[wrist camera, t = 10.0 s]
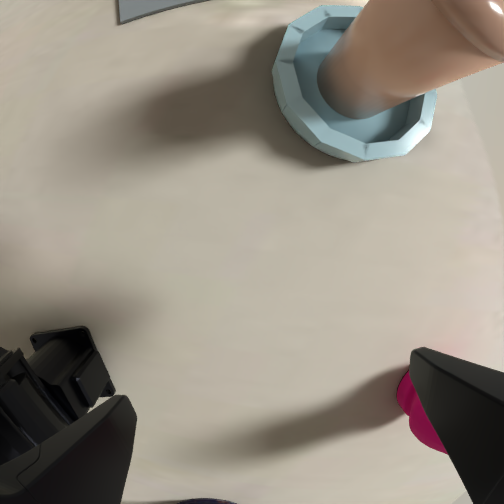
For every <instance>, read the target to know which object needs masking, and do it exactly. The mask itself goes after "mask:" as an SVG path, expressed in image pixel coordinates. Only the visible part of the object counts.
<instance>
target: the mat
mask: <svg viewBox="0 0 504 504" xmlns="http://www.w3.org/2000/svg"><path fill="white" fill-rule="evenodd" d="M203 1H208V0H119V11H120V22H121V24H124V23H127V22H130V21H133V20H135V19H139V18H142V17H145V16H148V15H151V14H155V13H158V12H162V11H165V10H169V9H173V8H177V7H181V6H185V5H189V4H193V3H198V2H203Z"/></svg>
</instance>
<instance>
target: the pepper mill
mask: <svg viewBox="0 0 504 504" xmlns="http://www.w3.org/2000/svg"><path fill="white" fill-rule="evenodd" d="M397 401H398V403H399V405H400V406H401V408H402V409H403V410H404V412H405V413H406V414H407V415H408V416H409V426H410V429H411V431H412V433H413V434H414V435H415V436H416V437H417V439H418V440H419V441H421V442H422V443H423V444H425V445H427V446H428V447H430V448H432V449H435V450H437V451H440V452H443V453H445V454H448V453H447V451H446V450H445V448H444V446H443V444H442V442H441V440H440V439H439V437H438V435H437V433H436V431H435V430H434V428H433V426H432V424H431V423H430V421H429V419H428V417H427V415H426V413H425V411H424V409H423V407H422V404H421V402H420V400H419V397H418V395H417V392H416V390H415V388H414V386H413V383H412V381H411V379H410V375H409V371H408V372H407V373H406V374H405V376H404V377H403V379H402V381H401V382H400V384H399V387H398V391H397Z"/></svg>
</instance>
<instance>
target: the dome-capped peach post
mask: <svg viewBox="0 0 504 504" xmlns="http://www.w3.org/2000/svg"><path fill="white" fill-rule="evenodd" d="M501 63H504V0H369V1H368V3H367V4H366V5H365V6H364V8H363V9H362V10H361V11H360V13H359V14H358V15H357V16H356V18H355V19H354V20H353V22H352V23H351V24H350V25H349V27H348V28H347V29H346V31H345V32H344V33H343V34H342V36H341V37H340V38H339V40H338V41H337V42H336V44H335V45H334V46H333V48H332V49H331V50H330V52H329V53H328V54H327V56H326V57H325V58H324V60H323V61H322V62H321V64H320V66H319V68H318V72H317V84H318V88H319V91H320V93H321V95H322V97H323V99H324V100H325V102H326V103H327V104H328V105H329V106H330V107H331V108H332V109H333V110H335V111H336V112H337V113H339V114H341V115H343V116H345V117H348V118H352V119H367V118H370V117H373V116H375V115H377V114H379V113H381V112H383V111H386V110H388V109H390V108H392V107H394V106H397V105H399V104H401V103H403V102H406V101H408V100H410V99H412V98H415V97H417V96H419V95H422V94H424V93H426V92H429V91H431V90H434V89H436V88H438V87H441V86H443V85H446V84H448V83H451V82H453V81H456V80H458V79H461V78H463V77H466V76H468V75H471V74H474V73H476V72H479V71H482V70H484V69H487V68H490V67H493V66H495V65H498V64H501Z"/></svg>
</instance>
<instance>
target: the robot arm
mask: <svg viewBox="0 0 504 504" xmlns="http://www.w3.org/2000/svg"><path fill="white" fill-rule="evenodd" d="M82 331H83V332H84V333H85V335H84V334H83V333H82ZM35 339H36V340H35ZM30 341H31V343H32V345H33V348H34V350H35V353H34V354H33V355H32V356H31V357H30V358H29V359H28V360H27V361H26V359H25V358H24V356H23V352H22V351H21V349H20V348H18V349H16V350H14V351H12V350H11V351H7V350H5V349H4V348H2V347H0V504H120V503H121V499H122V495H123V490H124V486H125V482H126V478H127V474H128V470H129V466H130V462H131V457H132V452H133V444H134V437H135V430H136V423H137V415H136V412H135V410H134V408H133V406H132V404H131V402H130V400H129V398H128V397H127V396H126V395H114V394H115V391H116V390H115V388H114V386H113V383H112V381H111V379H110V376H109V373H108V371H107V369H106V367H105V365H104V363H103V360H102V358H101V356H100V354H99V352H98V351H97V348H96V346H95V344H94V341H93V339H92V337H91V334H90V332H89V330H88V328H86V327H85V326H80V327H74V328H67V329H61V330H55V331H48V332H41V333H34V334H33V335H31V337H30ZM409 375H410V379H411V381H412V383H413V386H414V388H415V390H416V392H417V395H418V397H419V400H420V402H421V404H422V407H423V409H424V411H425V413H426V415H427V417H428V419H429V421H430V423H431V424H432V426H433V428H434V430H435V431H436V433H437V435H438V437H439V439H440V440H441V442H442V444H443V446H444V448H445V450H446V451H447V453H448V455H449V457H450V459H451V461H452V463H453V464H454V466H455V468H456V470H457V472H458V474H459V476H460V478H461V480H462V482H463V484H464V486H465V488H466V490H467V492H468V494H469V496H470V498H471V500H472V502H473V504H504V372H500V371H497V370H494V369H491V368H487V367H484V366H481V365H478V364H475V363H472V362H468V361H465V360H462V359H459V358H456V357H453V356H450V355H447V354H444V353H441V352H438V351H435V350H432V349H429V348H426V347H421V348H417V349H414V350H413V351H412V352H411V356H410V367H409ZM109 390H110V391H109ZM113 395H114V396H113ZM111 396H113V397H111ZM99 397H111V398H110V399H108V400H107V401H105V402H104V403H102V404H101V405H99V406H98V407H96V408H95V409H93V410H92V411H90V412H89V413H87V412H88V411H89V409H90V408H93V407H94V405H95V403H96V401H97V400H98V398H99Z"/></svg>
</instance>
